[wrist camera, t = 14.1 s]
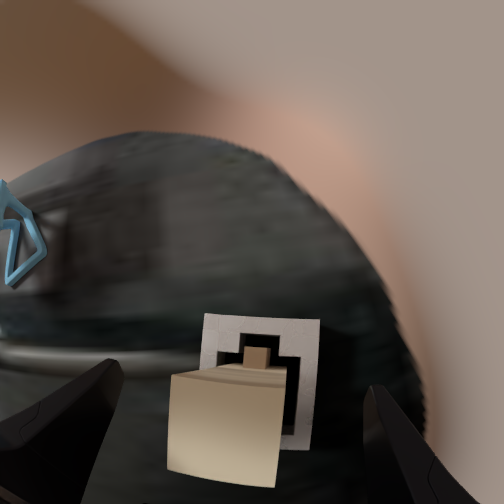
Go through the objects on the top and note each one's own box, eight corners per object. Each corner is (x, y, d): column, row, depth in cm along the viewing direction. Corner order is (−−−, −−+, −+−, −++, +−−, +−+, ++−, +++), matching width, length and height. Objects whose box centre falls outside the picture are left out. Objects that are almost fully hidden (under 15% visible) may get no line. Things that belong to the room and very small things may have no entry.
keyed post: (282, 415, 17) (274, 487, 6) (231, 410, 17) (167, 469, 7) (288, 349, 18) (288, 348, 8) (236, 345, 19) (175, 338, 8)
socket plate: (306, 438, 16) (309, 450, 13) (205, 429, 17) (195, 438, 14) (315, 323, 18) (319, 319, 16) (214, 318, 19) (204, 313, 17)
